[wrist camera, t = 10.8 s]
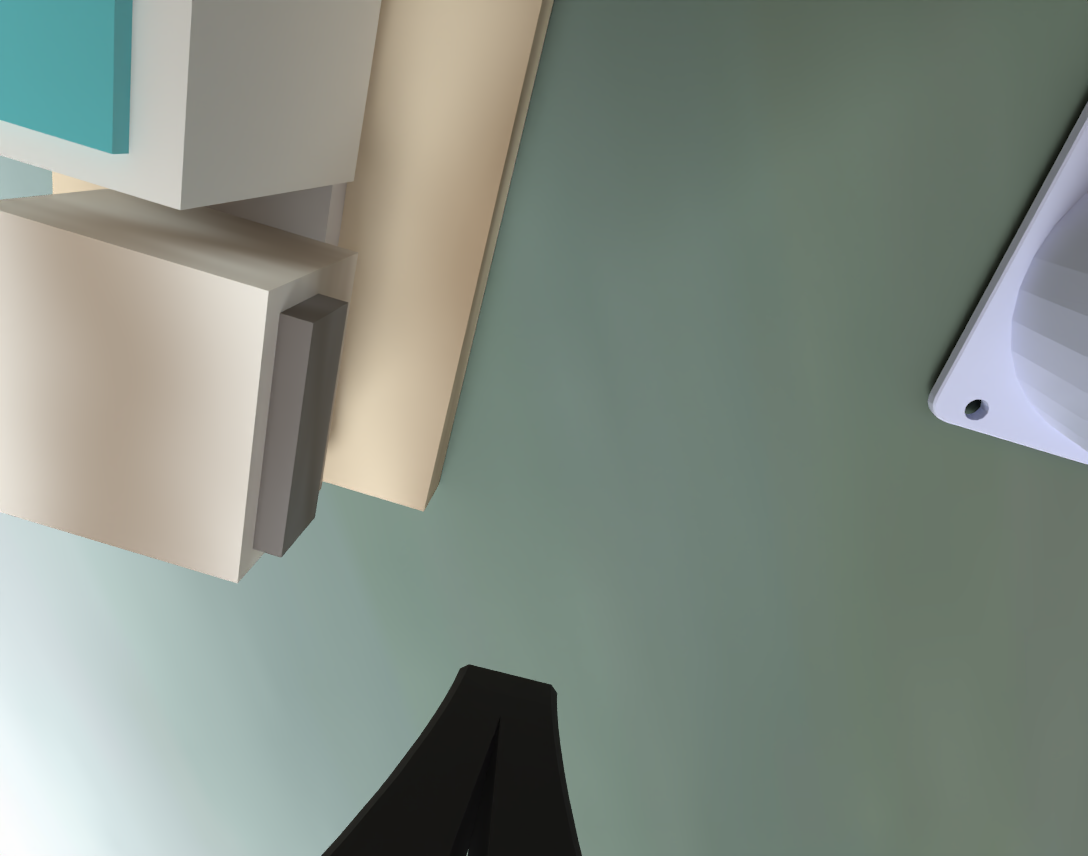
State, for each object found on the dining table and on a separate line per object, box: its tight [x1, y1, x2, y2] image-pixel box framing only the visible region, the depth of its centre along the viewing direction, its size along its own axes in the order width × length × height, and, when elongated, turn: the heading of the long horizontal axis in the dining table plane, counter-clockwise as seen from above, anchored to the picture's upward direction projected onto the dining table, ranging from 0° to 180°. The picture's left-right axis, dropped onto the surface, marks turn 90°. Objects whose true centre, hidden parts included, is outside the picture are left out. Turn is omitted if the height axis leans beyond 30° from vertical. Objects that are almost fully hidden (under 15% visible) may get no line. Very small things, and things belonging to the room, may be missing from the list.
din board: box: [0, 0, 554, 583], centre depth 13 cm, size 10×20×6 cm, turn 165°
